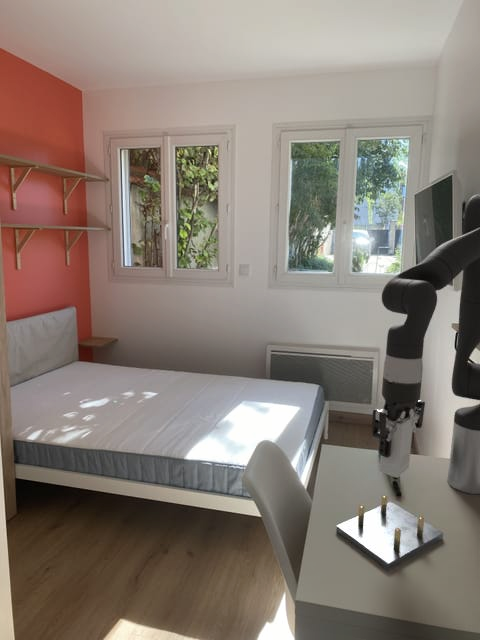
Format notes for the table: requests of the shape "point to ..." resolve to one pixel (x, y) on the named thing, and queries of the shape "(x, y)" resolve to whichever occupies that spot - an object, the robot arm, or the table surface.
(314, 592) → the table surface
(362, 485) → the table surface
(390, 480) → the handheld radio
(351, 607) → the table surface
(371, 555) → the standoff plate
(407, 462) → the skincare box
